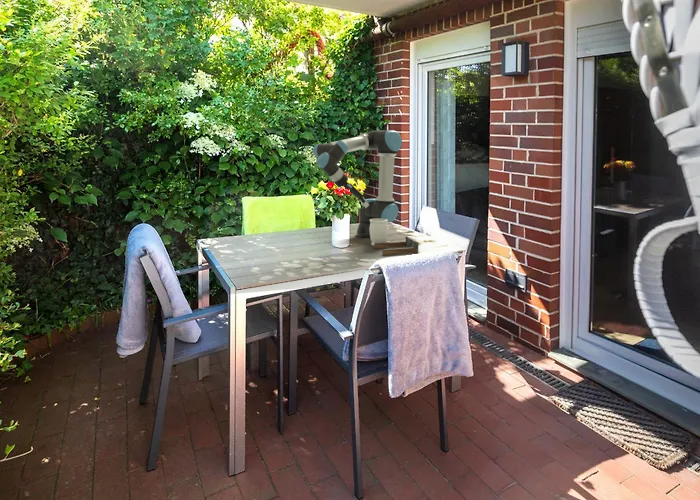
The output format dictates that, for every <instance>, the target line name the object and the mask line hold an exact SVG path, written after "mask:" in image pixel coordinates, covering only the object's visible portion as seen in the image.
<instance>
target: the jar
mask: <svg viewBox="0 0 700 500" xmlns="http://www.w3.org/2000/svg"><path fill="white" fill-rule="evenodd" d="M370 222H371V223H370V228H369V231H370V241H371V244H370V245H371V246H373V247H374V243H386V241H387V238H388V231H389V228H388V227H389V226H388V223H389V222H388V219H383V218H374V219H370Z"/></svg>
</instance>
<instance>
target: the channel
mask: <svg viewBox="0 0 700 500" xmlns="http://www.w3.org/2000/svg"><path fill="white" fill-rule="evenodd" d="M407 247H408V248H407ZM373 248H374V250H379V249H382V256H392V255H408V254H418V253H419V241H417V240H415V239H414V238H412V237H410V236H408V235H406V236H405V240H404V241H391V242H385V243H374V246H373Z"/></svg>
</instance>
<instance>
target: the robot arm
mask: <svg viewBox="0 0 700 500" xmlns="http://www.w3.org/2000/svg"><path fill="white" fill-rule="evenodd" d="M402 145H403V139H402V137H401V135H400V133H399V132H398V131H396V130H389V129H388V130H378V129H377V130H371V131H369V132H365V133H361V134H359V135H358V136H354V137H350V138H344V139H341V140H337V141H336V140H335V141H331V142H327V143H317V144H315V145H314V146H313V148H312V154H313V155H314V157H315V158H316V163H317V165H318V166H319V167H320V168H321V169H322V171H323V172H324V173H325V174H326V175H327V177H328V178H329V180H331V181H332V182H333V183H334V185H335V184H336V185H337V186H338V187H337V186H336V185H335V186H336V187H337V188H340V187H341V186H344V187H345V188H347V189H350V192H351V194H352V195H353V196H354V197H355V198H357V201H358V202H361V203H362V205H363V206H364V207H365V208H363V209H360V210H359V209H358V212H359V213H358V215H359V216H358V217H359V220H358V221H359V222H358V227H357V230H356V236H357V237H359V238H366V239H367V238H370V231H369V228H370V223H371V222H370V219H374V218H383V219H388V222H387V223H393V222H394V221H395V219H397V217H398V214H399V207H398V205H397V204H396V202H395V201H396V200H395V199H394V197H393V190H394V173H395V157H396V156H397V155H398V151H400V149H401V148H402ZM359 150H361V151H367V150H373V151H374V150H375V151H377V154H378V156H379V173H378V193H377V195H378V196H377V197H376V198H364V194H362V193H361V192H360V191H359V190H358V189H357V188H356V187H355V186H353V184H352V183H350V182H348V180H349V178H348V176H347V175H346V174H345V173H344V171H343V170H342V169H341V168H340V166H338V164H339V162H340V161H341V160H342V159H343V158H344V157H345V155H346V153H351V152H356V151H359ZM370 239H371V238H370Z"/></svg>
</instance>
